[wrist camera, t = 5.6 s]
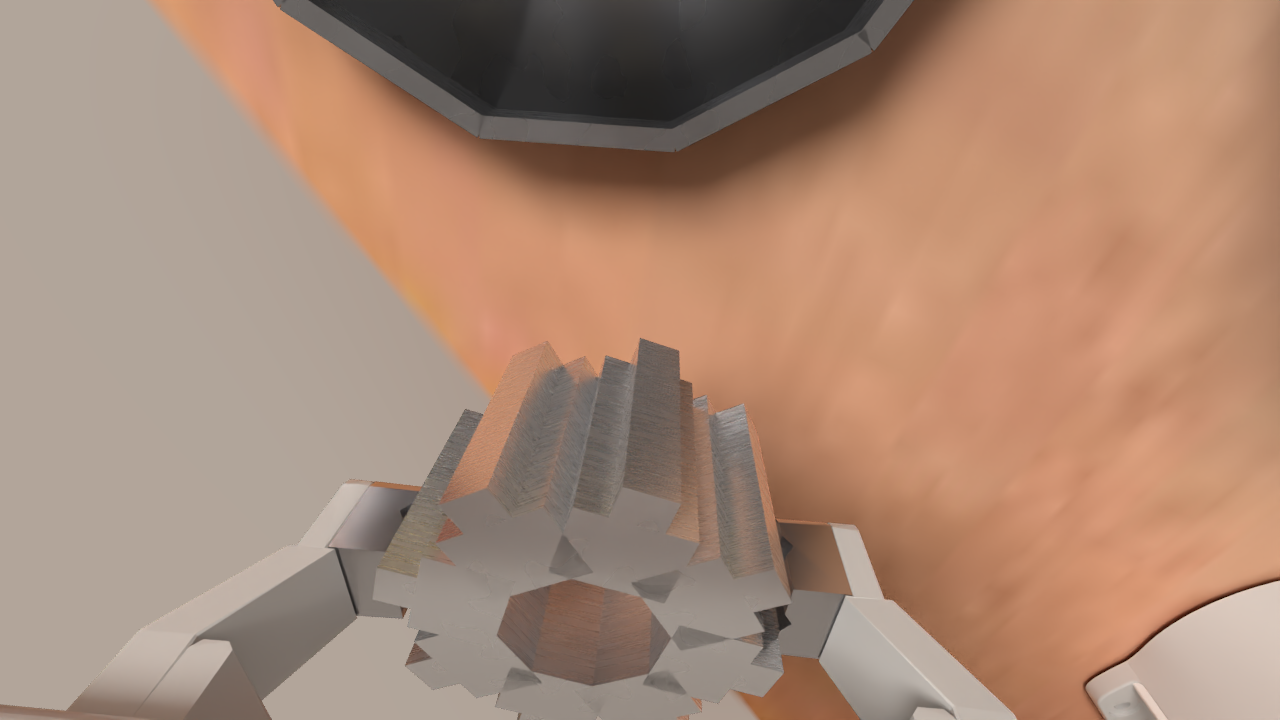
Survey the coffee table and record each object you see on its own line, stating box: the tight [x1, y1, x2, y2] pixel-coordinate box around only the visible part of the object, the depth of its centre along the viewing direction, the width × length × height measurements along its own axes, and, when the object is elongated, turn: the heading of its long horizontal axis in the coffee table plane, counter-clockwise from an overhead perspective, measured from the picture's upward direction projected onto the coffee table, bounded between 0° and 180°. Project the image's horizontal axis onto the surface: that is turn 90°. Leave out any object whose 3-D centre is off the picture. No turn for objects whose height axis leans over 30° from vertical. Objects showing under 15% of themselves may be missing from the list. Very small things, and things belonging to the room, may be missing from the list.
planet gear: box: [373, 338, 792, 720], centre depth 10 cm, size 7×7×4 cm
